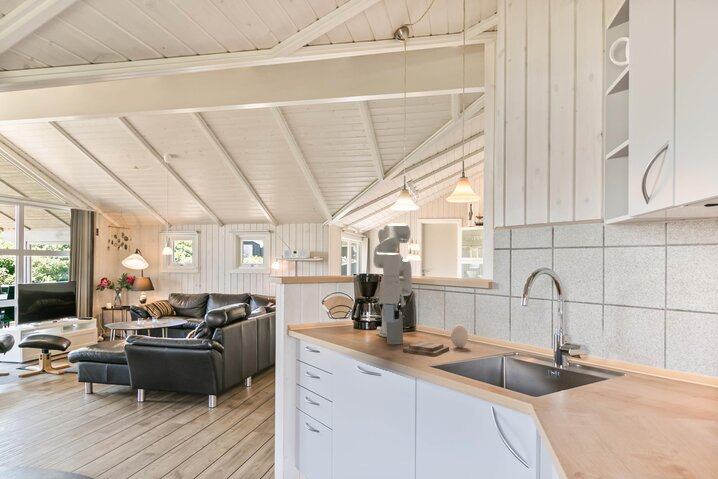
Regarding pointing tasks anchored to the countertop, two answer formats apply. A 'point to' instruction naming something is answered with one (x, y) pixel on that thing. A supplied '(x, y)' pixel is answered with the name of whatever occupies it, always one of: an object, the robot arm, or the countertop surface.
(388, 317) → the slate block
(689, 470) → the countertop surface
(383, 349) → the countertop surface
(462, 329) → the egg
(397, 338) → the skincare box
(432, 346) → the pedestal
